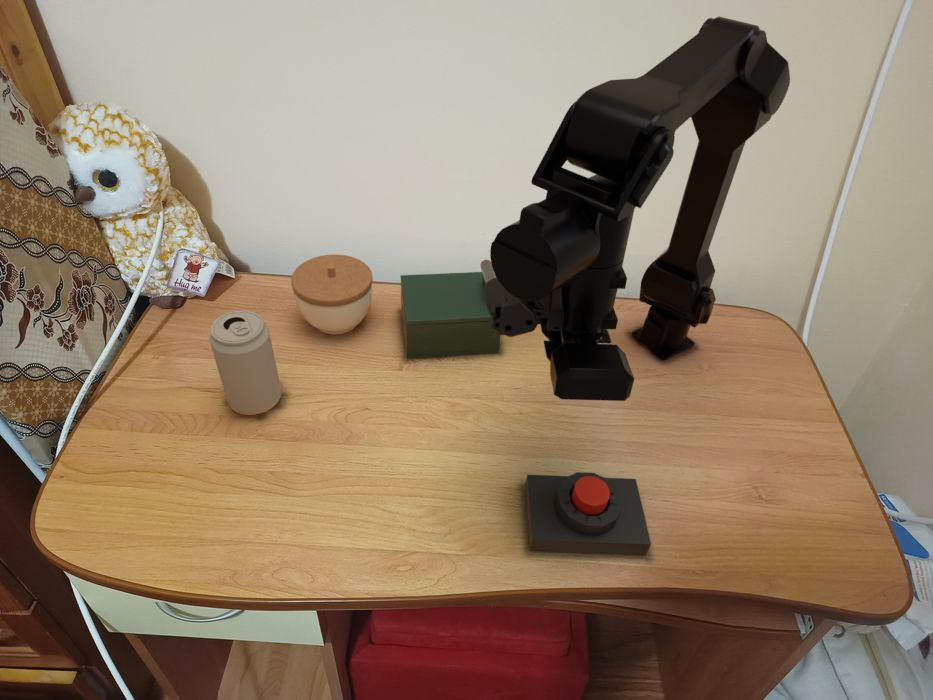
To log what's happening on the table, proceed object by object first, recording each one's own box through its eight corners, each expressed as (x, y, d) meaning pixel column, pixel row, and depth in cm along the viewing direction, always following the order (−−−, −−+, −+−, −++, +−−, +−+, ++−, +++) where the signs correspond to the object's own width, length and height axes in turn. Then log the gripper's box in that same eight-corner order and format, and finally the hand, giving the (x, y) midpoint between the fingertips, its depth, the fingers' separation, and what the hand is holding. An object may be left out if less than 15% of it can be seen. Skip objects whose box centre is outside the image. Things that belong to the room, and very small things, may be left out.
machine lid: (494, 275, 89) (497, 248, 86) (508, 320, 82) (512, 292, 79) (400, 279, 87) (400, 252, 84) (406, 325, 80) (405, 297, 77)
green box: (486, 307, 93) (489, 275, 89) (498, 353, 86) (502, 320, 82) (401, 311, 91) (400, 279, 88) (406, 358, 84) (406, 325, 80)
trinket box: (307, 295, 93) (299, 241, 87) (379, 299, 93) (376, 246, 87) (290, 343, 85) (280, 287, 79) (369, 348, 85) (365, 293, 79)
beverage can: (264, 373, 81) (247, 300, 72) (292, 401, 77) (278, 327, 69) (218, 397, 77) (195, 323, 69) (246, 427, 74) (225, 353, 66)
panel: (631, 490, 70) (639, 468, 67) (645, 555, 64) (655, 534, 62) (524, 486, 70) (529, 464, 67) (529, 551, 64) (534, 530, 61)
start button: (603, 486, 66) (607, 476, 65) (609, 516, 63) (612, 506, 62) (569, 485, 66) (572, 475, 65) (573, 514, 63) (576, 504, 62)
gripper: (489, 203, 60) (480, 336, 69) (499, 310, 45) (486, 462, 54) (605, 207, 60) (580, 339, 69) (654, 314, 45) (614, 464, 54)
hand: (564, 393), depth 62 cm, fingers closed
